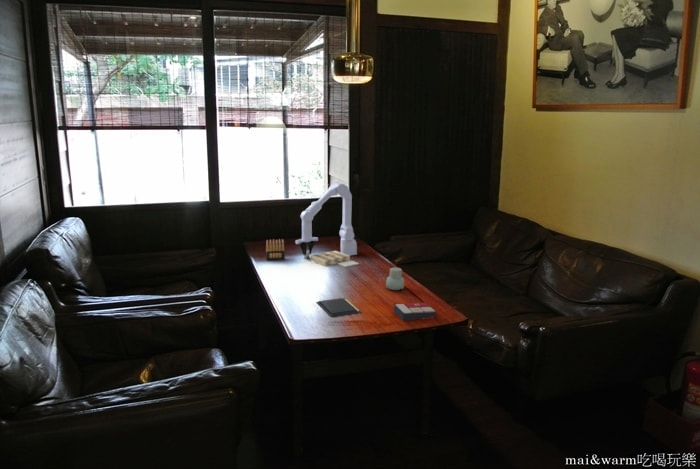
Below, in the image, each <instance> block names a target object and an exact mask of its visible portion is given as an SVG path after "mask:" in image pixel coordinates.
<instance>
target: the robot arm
mask: <svg viewBox="0 0 700 469" xmlns="http://www.w3.org/2000/svg"><path fill="white" fill-rule="evenodd" d="M338 195H339V196H340V197H341V199H342V223H341V225H340V230H339V232H338V233H339V237H340V251H339V252H340V253H343V254H346V255H349V256H350V257H351V256H355V255H358V253H357V252H358V246H357V244H358V243H357V241H356V239H355V233H354V228H353V226H352V211H353V209H352V206H353V203H352V202H353V201H352V199H353V195H352V193H351V191H350V189H349V187H348V186H347V185H346V184H344V183H341V182H339V181H335V182H333V183H332V184H330V186H328V189H327V190H326V191H325V192H324V193H323V194H322V195H321V196H320V198H319V199H318V200H316V201H315V200H314V201H312V202H311V205H309V206H308V207H307V208H306V209H305V210H303V211H302V212H301V214H300V215H299V216H300V219H301V238H299V239H296V240H295V242H294V243H295V245H299V247H300V249H301V252H302V255H306V247H307V246H309V251H310V255H311V254H312V251H313V248H314V246H315V243H316V242H318V241H319V237H316V236H313V235H312V234H313V230H312V229H313V228H312V227H313V225H312V221H313V220H314V217H315V216H316V215H317V213H319V211H320V210H321V209H322V208H323V207H322V206H323V205H324V203H326V202H327V201H328V200H329V199H330V198H331V197H334V196H335V197H336V196H338Z"/></svg>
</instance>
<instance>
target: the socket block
mask: <svg viewBox="0 0 700 469" xmlns="http://www.w3.org/2000/svg"><path fill="white" fill-rule="evenodd" d="M340 252H341V251H338V250H331V251H326V252H321V253H317V254H312V255H311V254H310V258H309V261H311V262H313V263H316V264H318V265H320V266H324V267H326V266H327V267H328V266H331V265H332V266H333V265H338V263H342V262H346V261H351V258H350V257H351V256H349V255H346V254H343V253H340ZM327 255H333V256H332V257H328V256H327Z"/></svg>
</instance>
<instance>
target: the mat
mask: <svg viewBox="0 0 700 469" xmlns="http://www.w3.org/2000/svg"><path fill="white" fill-rule="evenodd" d="M337 265H338V266H341V267H343V268H348V267H353V266H357V265H360V262H357V261H354V260H351V259H350V261H346V262H342V263H337Z"/></svg>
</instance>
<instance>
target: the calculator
mask: <svg viewBox="0 0 700 469" xmlns="http://www.w3.org/2000/svg"><path fill="white" fill-rule="evenodd" d="M393 313H394V315H396V316H397V317H398V316H399V317H400V318H401V319H402V320H403V321H402V320H401V319H400V318H399V317H398V318H399V319H400V320H401V321H402V322H408V321H407V320H412V321H415V319H421V320H423V319H422V318H430V317H435V318H436V317H437V312H436V311H435V309H433V308H432V307H431V306H430V305H428V304H427V303H426V302H411V303H410V302H409V303H400V304H399V303H396V304H394V306H393Z"/></svg>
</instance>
